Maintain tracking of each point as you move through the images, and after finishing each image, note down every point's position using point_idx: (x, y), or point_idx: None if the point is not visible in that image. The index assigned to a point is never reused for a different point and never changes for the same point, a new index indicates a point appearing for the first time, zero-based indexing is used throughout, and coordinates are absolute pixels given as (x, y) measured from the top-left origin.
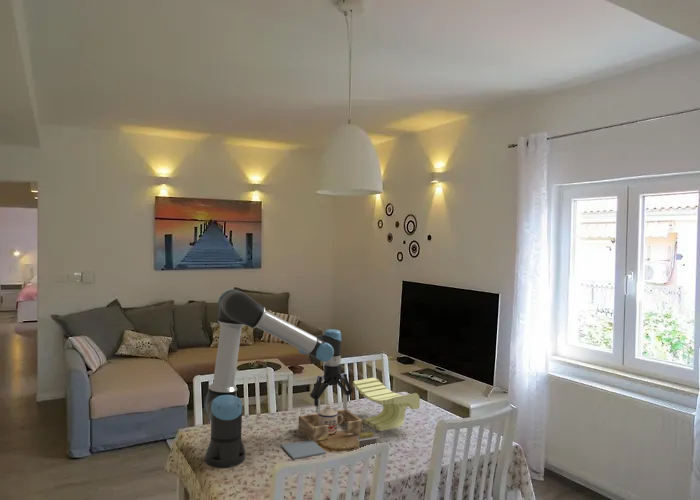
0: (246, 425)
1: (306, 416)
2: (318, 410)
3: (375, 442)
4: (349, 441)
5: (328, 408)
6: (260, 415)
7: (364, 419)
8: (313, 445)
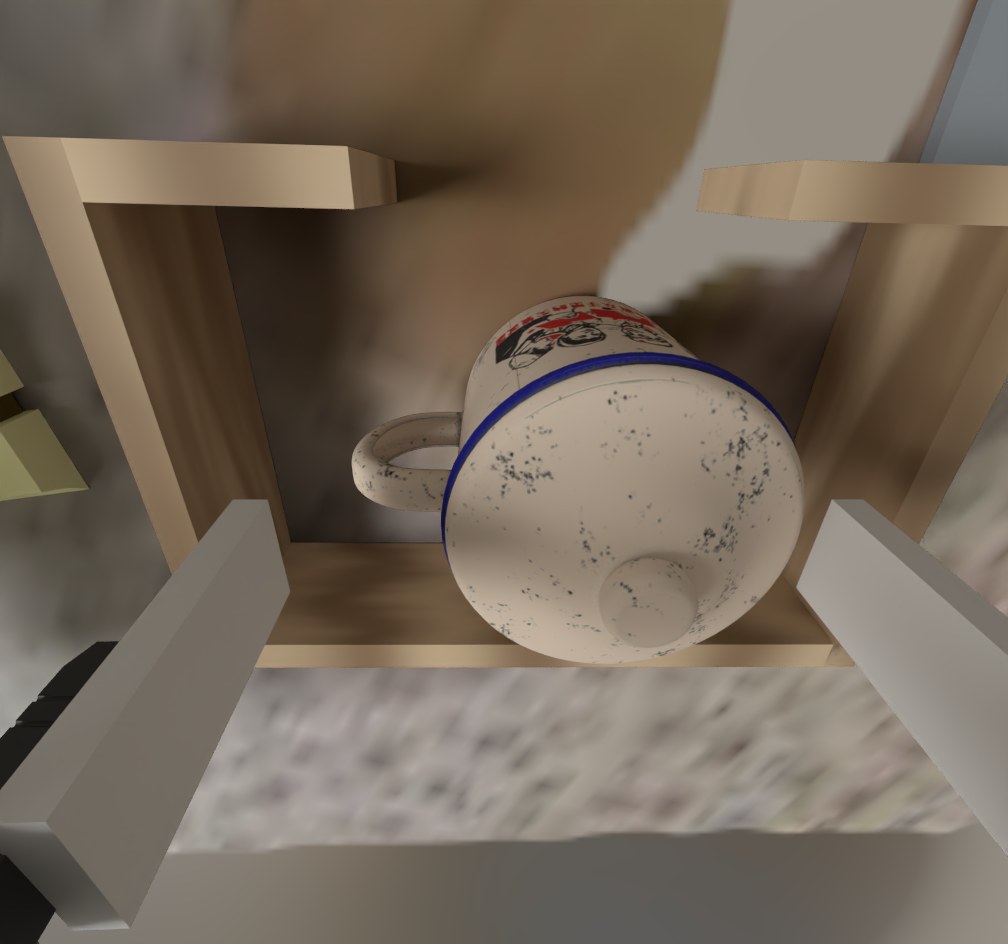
0: None
1: (775, 637)
2: (913, 542)
3: None
4: None
5: (663, 562)
6: (820, 820)
7: (38, 484)
8: None
